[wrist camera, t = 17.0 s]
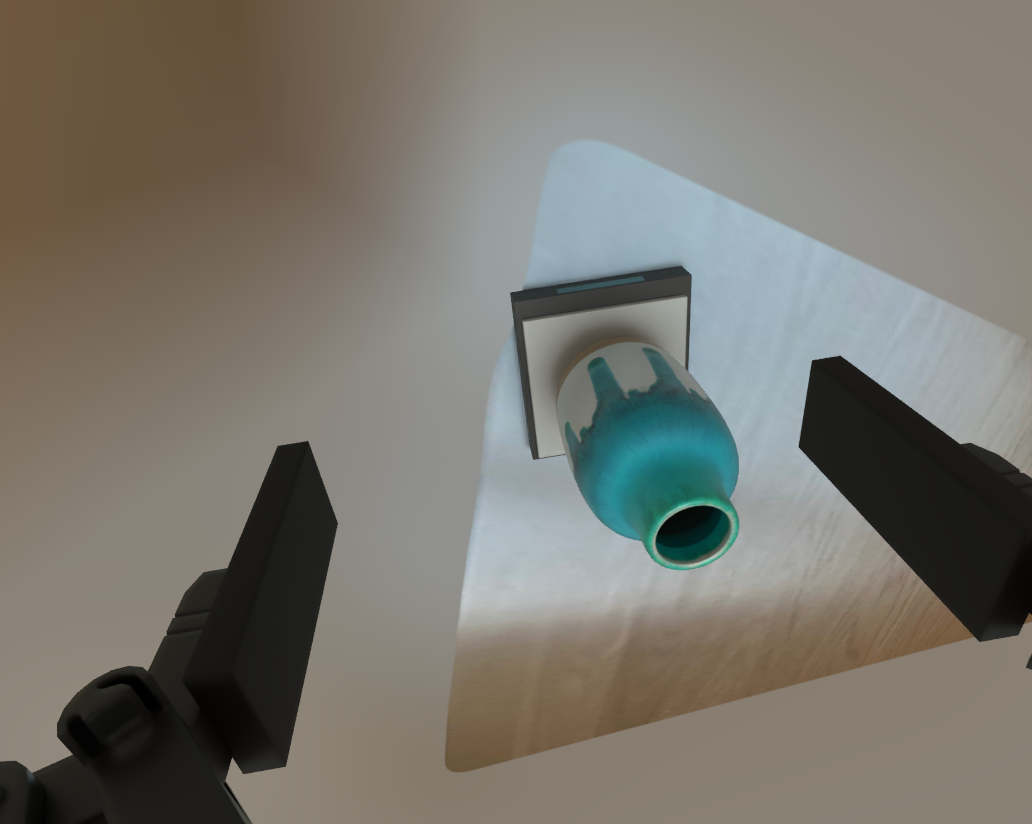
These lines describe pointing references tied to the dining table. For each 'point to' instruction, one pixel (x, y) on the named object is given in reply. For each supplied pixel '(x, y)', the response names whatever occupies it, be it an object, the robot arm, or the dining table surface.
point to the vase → (649, 451)
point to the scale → (591, 334)
